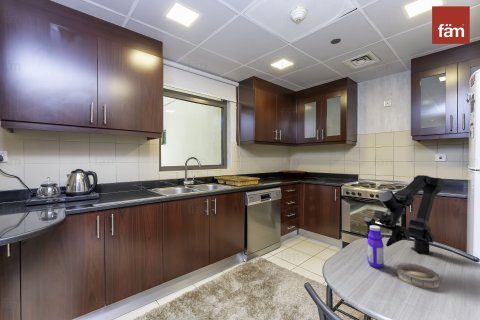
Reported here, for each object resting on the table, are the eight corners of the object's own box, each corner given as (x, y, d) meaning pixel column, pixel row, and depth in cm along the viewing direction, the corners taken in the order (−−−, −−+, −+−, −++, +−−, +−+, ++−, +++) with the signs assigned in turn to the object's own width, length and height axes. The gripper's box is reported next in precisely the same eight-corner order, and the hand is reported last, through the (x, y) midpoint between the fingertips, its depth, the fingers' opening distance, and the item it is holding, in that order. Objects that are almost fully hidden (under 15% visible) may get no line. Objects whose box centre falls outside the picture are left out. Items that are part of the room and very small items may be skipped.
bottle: (386, 269, 94) (385, 229, 94) (371, 268, 95) (371, 228, 95) (379, 261, 101) (378, 224, 101) (365, 260, 102) (365, 223, 102)
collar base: (390, 269, 94) (390, 262, 94) (424, 271, 92) (424, 264, 92) (409, 287, 81) (409, 279, 81) (448, 289, 79) (448, 281, 79)
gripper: (365, 200, 109) (349, 225, 105) (406, 208, 92) (388, 238, 88) (377, 214, 112) (361, 239, 108) (418, 224, 95) (401, 254, 91)
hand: (376, 242), depth 98 cm, fingers open, 9 cm apart
